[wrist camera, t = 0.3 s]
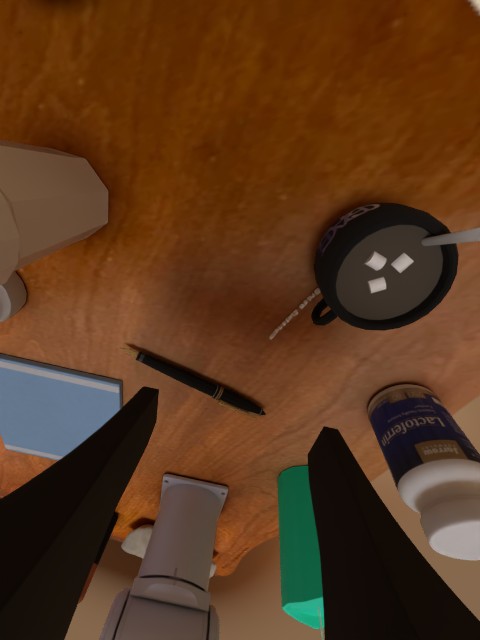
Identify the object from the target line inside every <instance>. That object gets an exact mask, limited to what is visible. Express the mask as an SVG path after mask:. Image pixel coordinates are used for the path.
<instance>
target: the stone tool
mask: <svg viewBox="0 0 480 640" xmlns="http://www.w3.org/2000/svg"><path fill="white" fill-rule="evenodd" d="M153 527H154V526H153V525H143V526H140V527H138V528H137V529H135V530H133V531H131V532H130V533H129V534H128V536H127V537H126V539H125V540H124V542H123V543H122V546H121V547H122V548H123V550H124V551H126V552H128V553H130V554H133V555H137V556H139V557H141V558H144V555H145V552H146V549H147V546H148V543H149V539H150V536H151V533H152V530H153ZM216 567H217V565H216V563H215V562H214V561H213V560H212V564H211V571H210V577H212V576H213V575H214V572H215V570H216Z"/></svg>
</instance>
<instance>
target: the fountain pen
mask: <svg viewBox="0 0 480 640" xmlns="http://www.w3.org/2000/svg"><path fill="white" fill-rule="evenodd" d="M119 348H120V347H119ZM121 349H122V350H124V351H125V352H126V353H127V354H130V355H133V356H135V357H136V360H138V361H140V362H142V363H144V364H146V365H148V366H150V367H152V368H154V369H156V370H158V371H160V372H162V373H164V374H166V375H168V376H170V377H172V378H174V379H176V380H178V381H180V382H182V383H184V384H186V385H188V386H190V387H193V388H195V389H197V390H199V391H201V392H203V393H206V394H208V395H210V396H212V398H214V399H216V400H219V402H218V404H219V405H222V406H224V407H227V408H229V409H232V410H234V411H237V412H239V413H242V414H244V415H247V416H250V417H254V418H258V416H259V415H266V414H265V412H264V411H263V409H262V408H261V407H259V406H258V405H256V404H255V403H253V402H252V401H250V400H248V399H246V398H244V397H242V396H240V395H239V394H237V393H235V392H232V391H230V390H228V389H226V388H224V387H222V386H220V385H216V384H214V383H211V382H209V381H207V380H205V379H203V378H201V377H198V376H196V375H194V374H192V373H190V372H187V371H185V370H183V369H180V368H178V367H176V366H173V365H171V364H169V363H166V362H164V361H162V360H159V359H157V358H155V357H152V356H150V355H147V354H145V353H143V352H141V351H140V352H135V351H133V350H131V349H124V348H121ZM220 401H221V402H223V403H225V404H223V403H221V402H220ZM226 404H228V405H230V406H228V405H226ZM231 406H232V407H231ZM233 407H235V408H233ZM236 408H237V409H236ZM238 409H240V410H238ZM241 410H243V411H245V412H243V411H241ZM246 412H248V413H246Z"/></svg>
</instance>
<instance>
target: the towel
mask: <svg viewBox="0 0 480 640" xmlns="http://www.w3.org/2000/svg"><path fill="white" fill-rule="evenodd" d="M121 408H122V381H120V380H116V379H111V378H107V377H102V376H98V375H93V374H89V373H84V372H80V371H76V370H71V369H67V368H62V367H58V366H53V365H49V364H44V363H40V362H35V361H31V360H26V359H22V358H17V357H13V356H8V355H4V354H0V434H1V436H2V439H3V441H4V445H5V448H6V449H7V450H12V451H17V452H21V453H26V454H31V455H35V456H40V457H45V458H49V459H54V460H60V459H62V458H63V457H64V456H66V455H67V454H68V453H70V452H71V451H72V450H73V449H75V448H76V447H77V446H79V445H80V444H81V443H82V442H83V441H85V440H86V439H87V438H88V437H90V436H91V435H92V434H93V433H94V432H96V431H97V430H98V429H99V428H100V427H102V426H103V425H104V424H105V423H106V422H107V421H108V420H109V419H110V418H112V417H113V416H114V415H115V414H116V413H117V412H118V411H119V410H120V409H121Z"/></svg>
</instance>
